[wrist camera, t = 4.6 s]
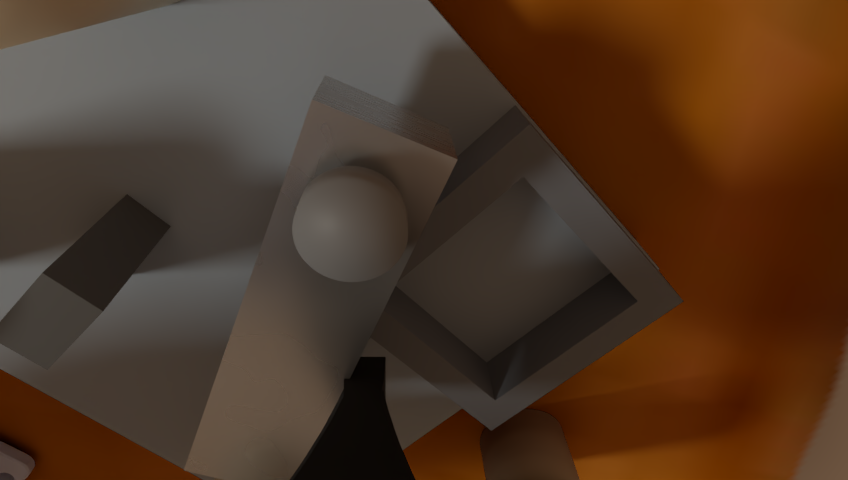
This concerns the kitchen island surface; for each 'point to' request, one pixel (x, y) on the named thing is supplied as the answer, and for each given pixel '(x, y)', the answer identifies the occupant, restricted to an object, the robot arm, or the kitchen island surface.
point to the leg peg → (527, 449)
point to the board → (255, 201)
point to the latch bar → (313, 292)
